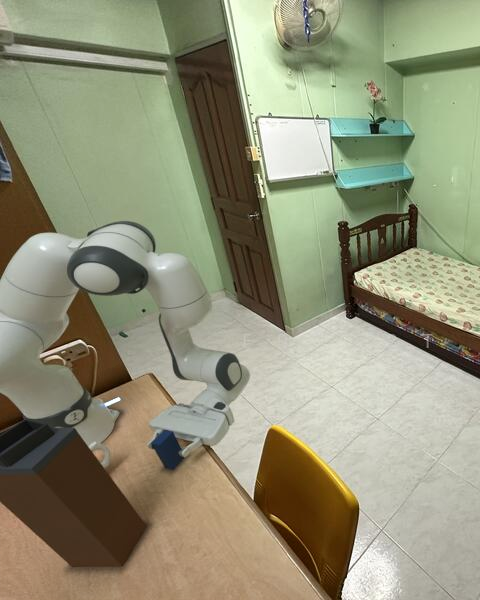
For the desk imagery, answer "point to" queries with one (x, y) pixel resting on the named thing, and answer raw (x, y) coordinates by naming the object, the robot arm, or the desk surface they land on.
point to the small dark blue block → (167, 449)
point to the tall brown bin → (66, 495)
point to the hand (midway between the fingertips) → (165, 451)
